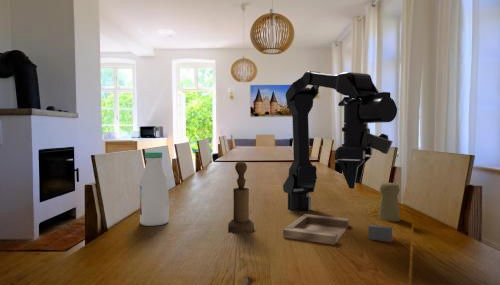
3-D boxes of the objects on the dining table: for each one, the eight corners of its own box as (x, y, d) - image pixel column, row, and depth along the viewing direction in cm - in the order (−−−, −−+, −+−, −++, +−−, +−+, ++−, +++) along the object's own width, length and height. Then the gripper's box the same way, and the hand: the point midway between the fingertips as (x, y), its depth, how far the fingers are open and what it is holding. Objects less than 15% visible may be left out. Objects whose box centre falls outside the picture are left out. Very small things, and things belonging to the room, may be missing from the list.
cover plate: (352, 251, 74) (353, 231, 73) (361, 234, 86) (361, 217, 85) (403, 259, 69) (403, 237, 69) (404, 240, 81) (405, 222, 81)
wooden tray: (283, 240, 79) (283, 229, 79) (304, 223, 94) (304, 213, 94) (334, 248, 74) (334, 236, 73) (348, 228, 89) (348, 218, 89)
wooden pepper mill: (257, 229, 88) (257, 161, 87) (249, 237, 81) (249, 163, 81) (233, 227, 90) (233, 160, 89) (224, 234, 84) (223, 162, 83)
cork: (403, 224, 92) (403, 185, 92) (379, 223, 94) (380, 184, 93) (398, 219, 98) (398, 181, 98) (376, 218, 99) (376, 181, 99)
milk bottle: (174, 221, 96) (173, 151, 96) (156, 227, 89) (155, 152, 89) (153, 218, 100) (152, 150, 99) (133, 224, 93) (133, 152, 92)
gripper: (387, 122, 72) (386, 194, 72) (393, 124, 89) (392, 182, 89) (334, 122, 77) (334, 190, 77) (349, 124, 94) (349, 180, 94)
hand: (354, 185), depth 84 cm, fingers open, 9 cm apart
